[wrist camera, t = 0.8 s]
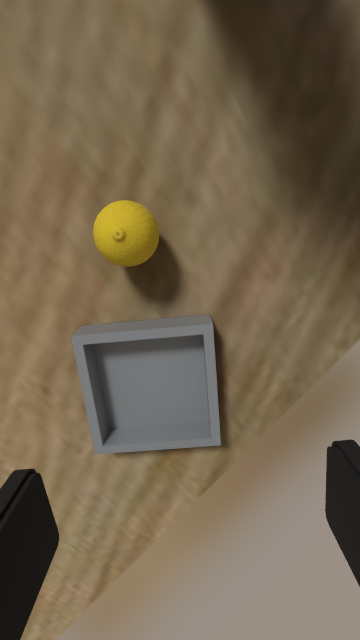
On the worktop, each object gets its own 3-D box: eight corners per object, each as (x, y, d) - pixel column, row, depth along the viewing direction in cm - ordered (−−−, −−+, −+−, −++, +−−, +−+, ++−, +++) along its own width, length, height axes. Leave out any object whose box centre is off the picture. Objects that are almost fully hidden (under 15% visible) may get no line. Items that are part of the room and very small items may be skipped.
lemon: (173, 237, 30) (169, 237, 22) (133, 273, 31) (117, 286, 23) (135, 192, 29) (117, 176, 21) (95, 231, 30) (65, 230, 22)
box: (82, 325, 32) (70, 336, 29) (209, 314, 32) (213, 323, 28) (103, 434, 36) (95, 454, 33) (217, 425, 36) (221, 445, 32)
